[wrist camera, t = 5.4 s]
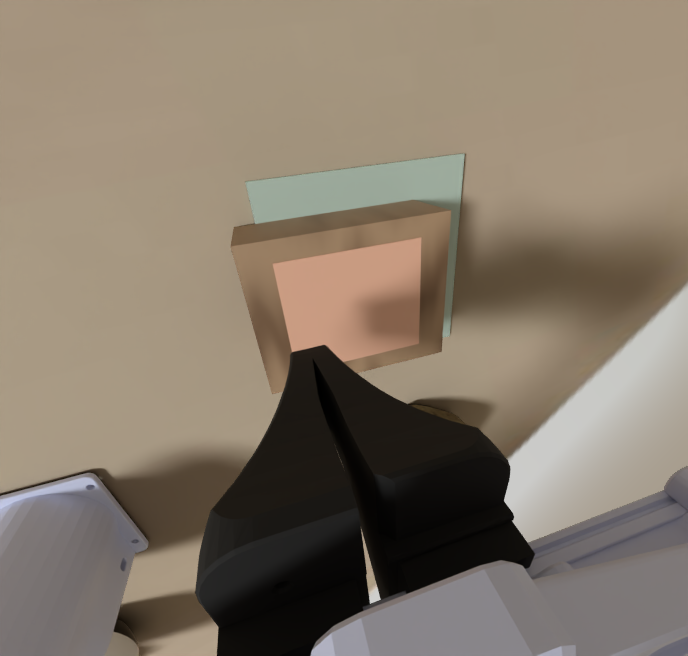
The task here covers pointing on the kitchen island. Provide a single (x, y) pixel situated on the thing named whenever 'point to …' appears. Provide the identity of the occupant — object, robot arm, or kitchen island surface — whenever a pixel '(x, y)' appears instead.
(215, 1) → the kitchen island surface
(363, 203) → the mat
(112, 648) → the spread jar
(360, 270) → the walnut block
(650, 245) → the kitchen island surface
